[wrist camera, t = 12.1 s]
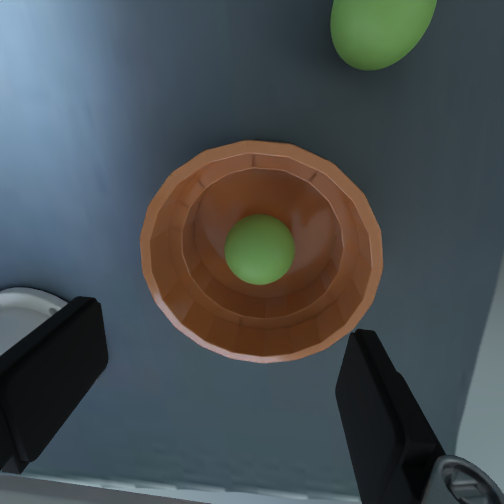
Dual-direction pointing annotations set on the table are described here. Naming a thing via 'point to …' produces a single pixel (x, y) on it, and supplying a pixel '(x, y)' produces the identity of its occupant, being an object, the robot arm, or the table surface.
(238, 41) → the table surface
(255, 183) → the bowl
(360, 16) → the pea ball
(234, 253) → the pea ball
